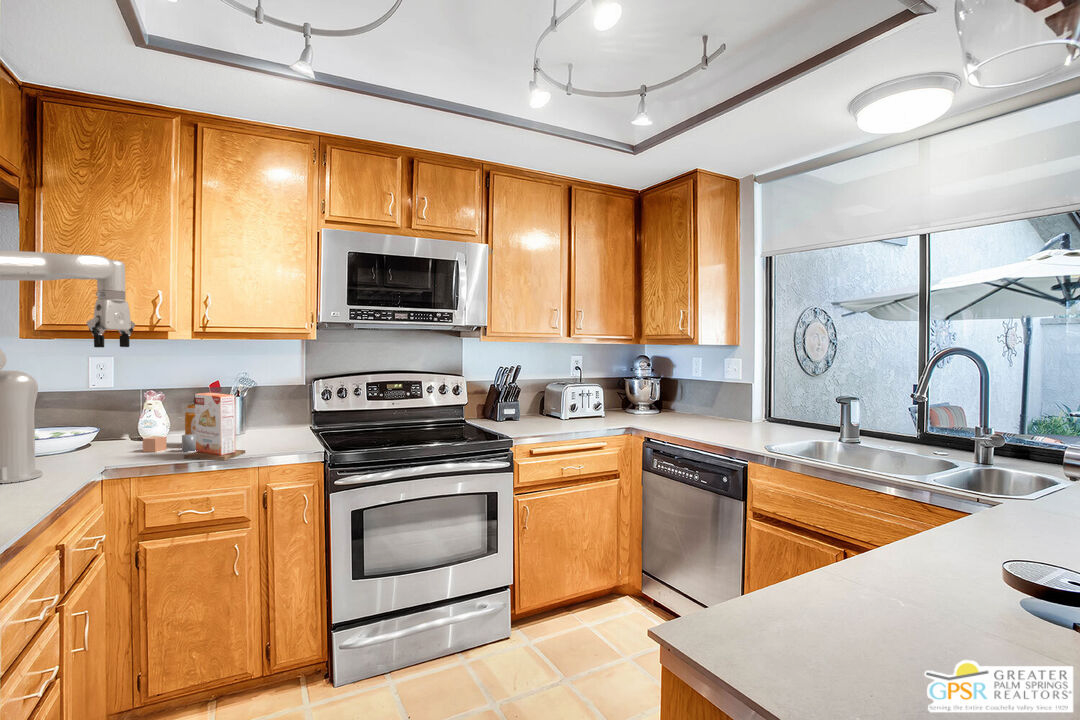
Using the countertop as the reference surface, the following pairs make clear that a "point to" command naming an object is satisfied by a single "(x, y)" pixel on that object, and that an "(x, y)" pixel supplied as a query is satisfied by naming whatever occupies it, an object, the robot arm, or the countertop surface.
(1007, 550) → the countertop surface
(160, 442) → the terracotta block
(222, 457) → the cutting board
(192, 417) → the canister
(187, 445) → the slate cylinder
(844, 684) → the countertop surface
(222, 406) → the cracker box
